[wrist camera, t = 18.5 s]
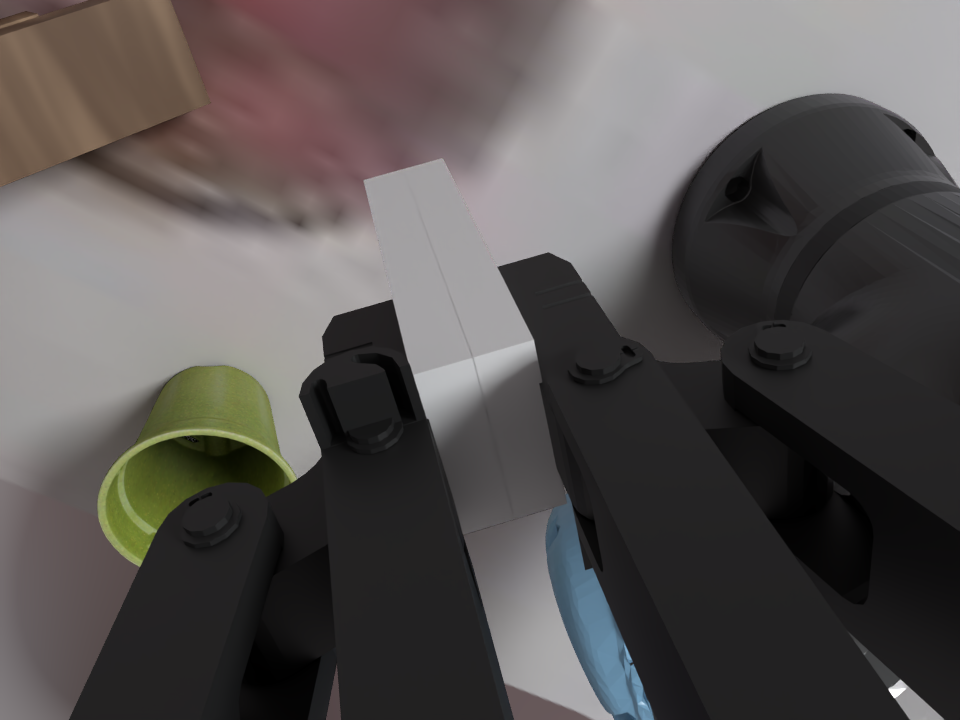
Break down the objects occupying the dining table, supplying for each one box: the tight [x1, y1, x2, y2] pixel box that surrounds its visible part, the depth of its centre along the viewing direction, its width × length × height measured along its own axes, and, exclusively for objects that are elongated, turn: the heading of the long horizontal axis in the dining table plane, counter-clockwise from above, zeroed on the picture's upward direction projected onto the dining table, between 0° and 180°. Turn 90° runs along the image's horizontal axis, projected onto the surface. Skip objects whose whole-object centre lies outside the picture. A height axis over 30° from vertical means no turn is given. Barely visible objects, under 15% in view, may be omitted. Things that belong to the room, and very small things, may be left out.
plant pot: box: [97, 366, 297, 567], centre depth 44 cm, size 9×9×9 cm
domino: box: [0, 0, 211, 187], centre depth 34 cm, size 2×5×10 cm
